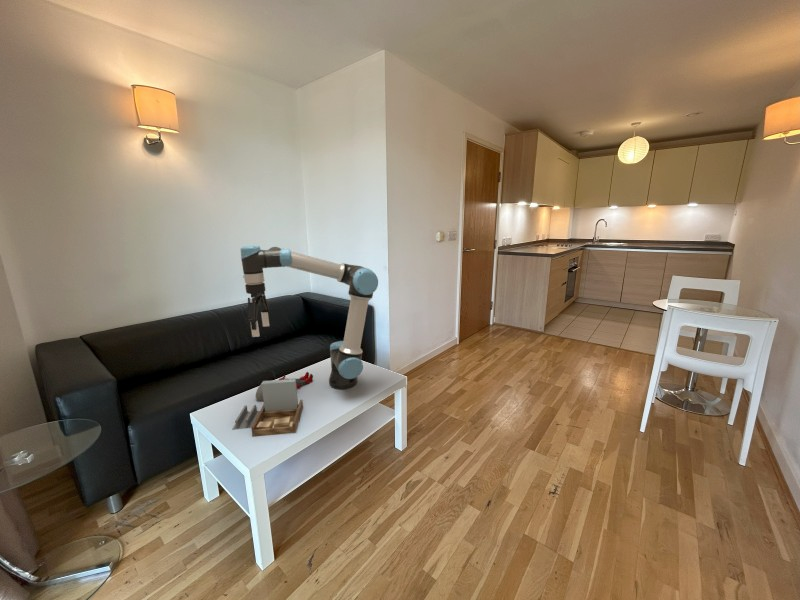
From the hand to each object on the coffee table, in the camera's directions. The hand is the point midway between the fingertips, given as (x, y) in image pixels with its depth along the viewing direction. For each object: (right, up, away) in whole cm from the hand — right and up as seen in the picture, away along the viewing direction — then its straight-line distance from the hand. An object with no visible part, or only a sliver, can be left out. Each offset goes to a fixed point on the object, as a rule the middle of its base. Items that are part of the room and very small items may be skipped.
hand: (261, 331), depth 141 cm
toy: (0, -34, +28) cm, 44 cm away
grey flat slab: (+7, -38, +6) cm, 39 cm away
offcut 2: (+11, -39, -6) cm, 41 cm away
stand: (-7, -40, +2) cm, 41 cm away
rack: (+8, -40, +1) cm, 41 cm away
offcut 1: (+4, -41, -6) cm, 41 cm away
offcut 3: (+12, -40, -5) cm, 42 cm away
